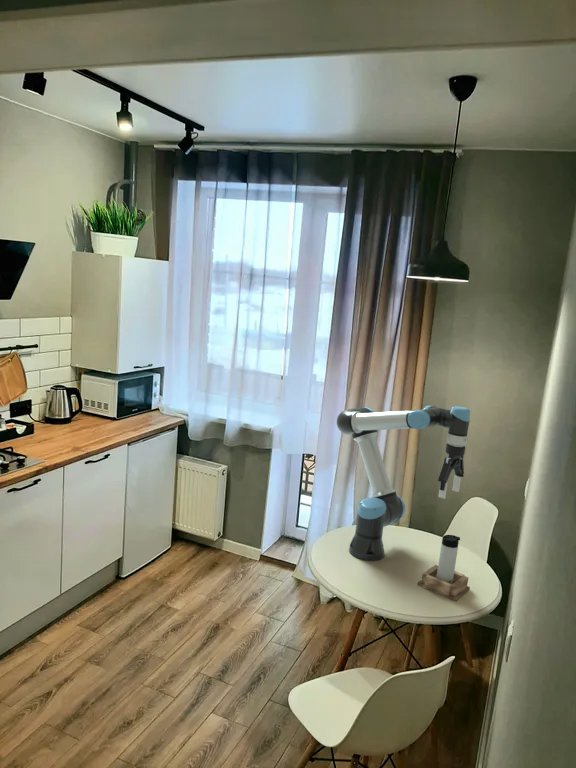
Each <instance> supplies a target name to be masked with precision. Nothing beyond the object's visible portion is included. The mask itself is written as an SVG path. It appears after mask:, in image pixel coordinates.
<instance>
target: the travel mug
mask: <svg viewBox="0 0 576 768" xmlns="http://www.w3.org/2000/svg"><path fill="white" fill-rule="evenodd" d="M441 539H442V540H441V545H440V552H439V557H438V558H439V559H438V571H437V577H436V578H437V579H440V580H442V581H445V582H447V583H450V584H452V583H453V577H454V571H455V570H456V569H455V568H456V562H457V556H458V549H459V542H460V541H461V538H460V536H457V535H454V534H445V535H443V537H442V538H441Z"/></svg>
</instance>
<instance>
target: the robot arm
mask: <svg viewBox="0 0 576 768" xmlns="http://www.w3.org/2000/svg"><path fill="white" fill-rule="evenodd" d="M470 421H471V410H470V409H469V408H468V407H464V406H458V405H455V406H452V407H451V409H447V408H443V407H437V406H436V405H425V407H424V408H423V409H409V410H396V411H395V410H394V411H393V410H392V411H376V412H375V410H373V409H372V408H369V407H364V406H362V407H357V408H356V407H355V408H348V409H344V410H342V411H341V412H340V413H338V415H337V419H336V426H337V428H338V430H339V431H340V432H341V433H342V434H344V435H351V436H352V439H353V440H354V441H355V442H357V444H358V448H359V451H360V454H361V458H362V461H363V464H364V469H365V471H366V475H367V479H368V481H369V485H370V487H371V492H372V494H371V496H370V497H366V498H363V499H362V500H360V502H359V503H358V507H357V516H356V525H355V533H354V535H353V537H352V540H351V542H350V543H349V548H348V552H349V553H350V554H351V556H353V557H355V558H357V559H361V560H365V561H379V560H382V559H383V558H384V556H385V548H384V547H385V546H384V542H383V533H384V527H385V528H386V527H388V526H389V525H392V524H396V523H398V522H399V521H401V520H402V519H403V517H404V515H405V514H406V504H405V501H404V499H403V498H402V497H400V496H399V495H397V491H396V490H395V489H394V488H392V486H391V484H390V480H389V476H388V473H387V470H386V467H385V463H384V460H383V457H382V455H381V451H380V447H379V444H378V440H377V435H378V431H384V430H385V431H386V430H388V431H389V430H406V429H407V430H408V429H414V430H423V429H427V428H431V427H436V426H437V427H441V428H446V429H448V431H447V437H446V445H445V453H446V454H448V457H444V460H443V465H442V467H441V469H440V472H439V476H438V478H437V481H438V482H439V490H438V498H441V499H444V500H445V499H446V494H447V489H448V480H449V477H450V475H451V473H452V471H453V470H454V475H453V481H452V488H451V491H453V492H456V493H459V492H460V486H461V480H462V478H464V476H465V467H464V466H465V465H464V456H465V453H466V445H467V442H468V433H469V432H468V431H469V426H470Z"/></svg>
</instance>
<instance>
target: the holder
mask: <svg viewBox="0 0 576 768" xmlns="http://www.w3.org/2000/svg"><path fill="white" fill-rule="evenodd" d="M437 571H438V565H437V564H434V565H433V566H431V567H430V568H428V569H427V570H425V571H424V572H422V574H421V579H420V580H418V581H417V586H420V587H422V588H424V589H427V590H429V591H431V592H434V593H435V594H438V595H440V596H443V597H445V598H448V599H450V600H452V601H454V602H457V601H458V600H460V599H461V598H462V597H464V595H466V594H468V592H469V591H470V589H471V587H470V586H468V585H469V584H468V583H469V577H467V576H465V574H464V573H461V572H459V571H455V570H454V577H453V583H452V584H450V583H447V582H445V581H442V580H440V579H437V578H436V577H437Z"/></svg>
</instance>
